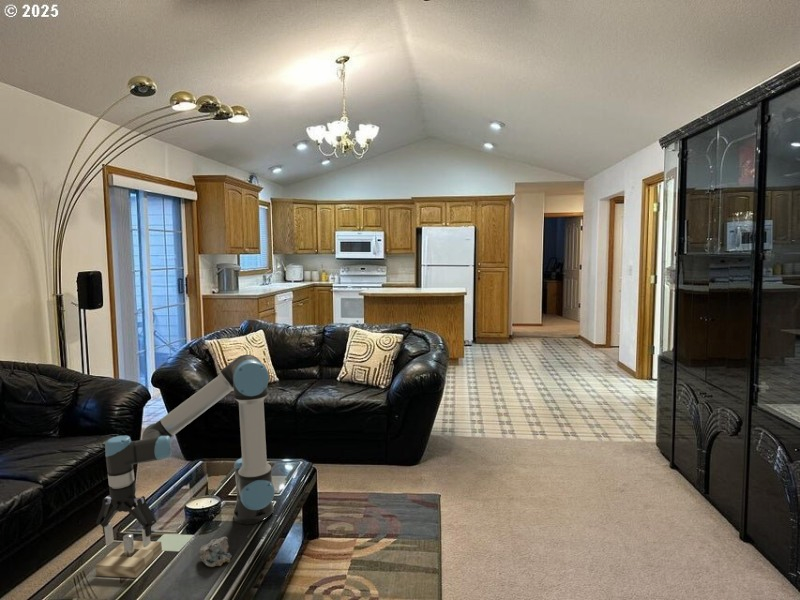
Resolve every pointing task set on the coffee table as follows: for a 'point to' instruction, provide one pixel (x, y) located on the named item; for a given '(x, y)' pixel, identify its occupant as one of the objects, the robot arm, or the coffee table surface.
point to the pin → (128, 545)
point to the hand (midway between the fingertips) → (128, 544)
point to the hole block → (128, 560)
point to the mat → (173, 541)
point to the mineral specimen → (215, 552)
